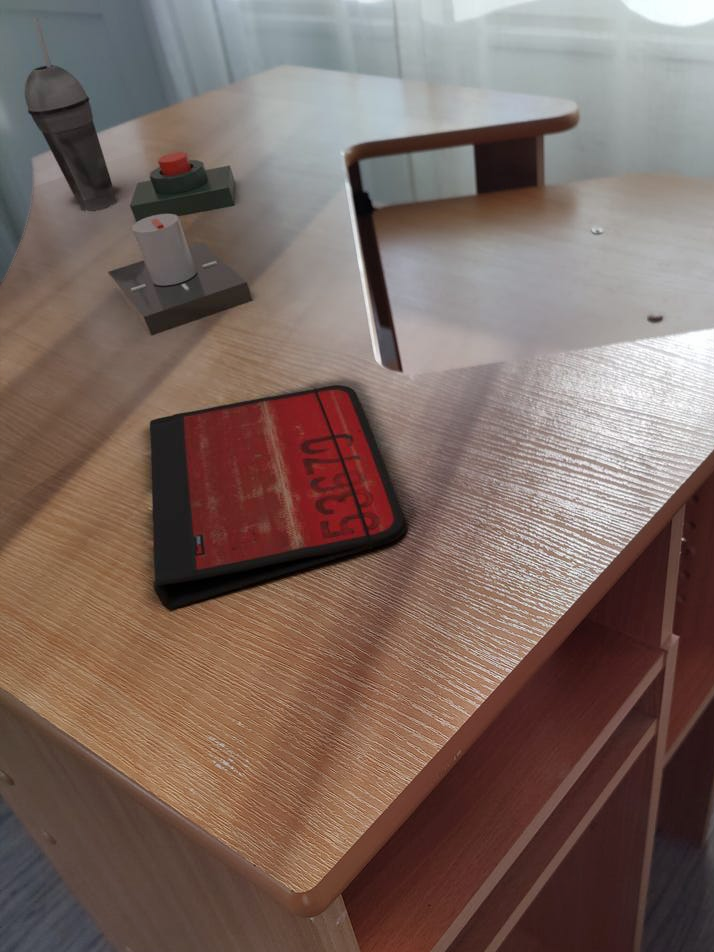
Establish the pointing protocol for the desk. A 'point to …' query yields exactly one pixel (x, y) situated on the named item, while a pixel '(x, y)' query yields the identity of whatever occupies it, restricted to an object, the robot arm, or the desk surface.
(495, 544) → the desk surface
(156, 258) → the hob knob
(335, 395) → the binder
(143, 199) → the button box
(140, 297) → the panel
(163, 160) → the button
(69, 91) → the beverage cup
